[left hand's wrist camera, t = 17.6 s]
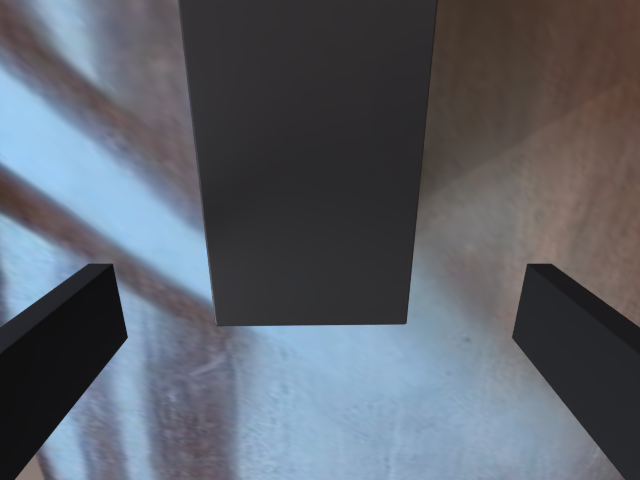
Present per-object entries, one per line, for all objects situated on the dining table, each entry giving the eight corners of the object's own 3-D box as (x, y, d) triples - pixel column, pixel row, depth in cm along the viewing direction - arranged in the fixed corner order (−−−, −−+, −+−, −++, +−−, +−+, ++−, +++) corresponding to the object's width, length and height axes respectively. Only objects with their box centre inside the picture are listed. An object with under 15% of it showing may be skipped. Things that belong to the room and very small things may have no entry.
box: (369, 232, 27) (406, 325, 16) (253, 232, 27) (215, 327, 16) (390, -171, 19) (486, -493, 8) (226, -173, 19) (118, -502, 8)
